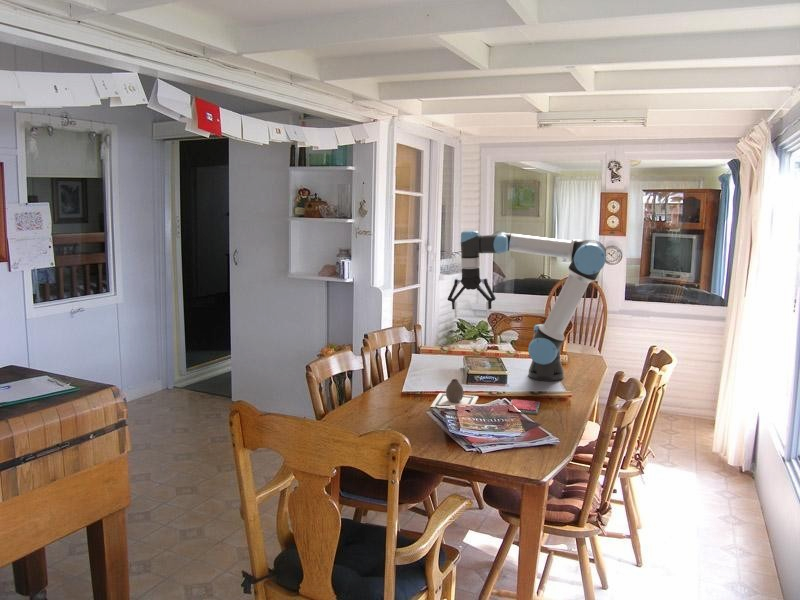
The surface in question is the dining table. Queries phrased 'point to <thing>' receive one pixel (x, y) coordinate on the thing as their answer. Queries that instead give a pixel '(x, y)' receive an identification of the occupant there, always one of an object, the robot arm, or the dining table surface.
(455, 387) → the brown egg
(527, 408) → the ink pad
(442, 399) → the marked card
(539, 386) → the dining table surface
